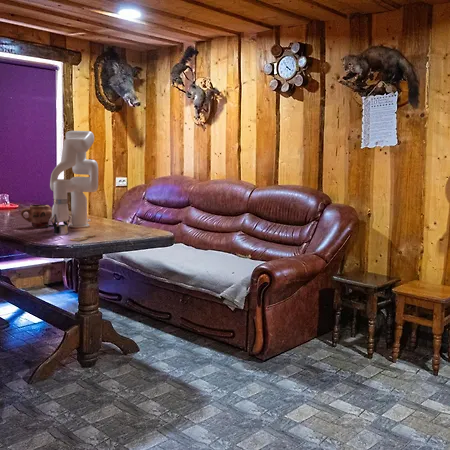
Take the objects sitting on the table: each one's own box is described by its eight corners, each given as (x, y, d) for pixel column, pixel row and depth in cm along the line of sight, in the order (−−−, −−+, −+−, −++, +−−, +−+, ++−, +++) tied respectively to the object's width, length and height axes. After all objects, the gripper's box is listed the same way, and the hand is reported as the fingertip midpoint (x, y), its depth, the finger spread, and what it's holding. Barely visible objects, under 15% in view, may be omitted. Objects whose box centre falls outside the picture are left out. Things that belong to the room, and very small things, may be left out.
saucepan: (70, 233, 304) (70, 225, 303) (62, 235, 297) (62, 226, 296) (49, 231, 309) (49, 223, 309) (40, 233, 302) (40, 224, 302)
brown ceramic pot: (25, 229, 315) (25, 206, 313) (17, 227, 323) (17, 204, 321) (57, 227, 328) (57, 205, 326) (48, 224, 337) (48, 203, 335)
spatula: (90, 235, 298) (89, 234, 297) (98, 236, 296) (98, 235, 296) (70, 240, 281) (70, 238, 281) (79, 241, 279) (79, 239, 279)
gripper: (64, 200, 309) (65, 230, 311) (45, 202, 293) (45, 234, 295) (75, 201, 306) (75, 231, 309) (56, 203, 290) (56, 235, 292)
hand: (61, 232), depth 302 cm, fingers closed on saucepan, 7 cm apart
